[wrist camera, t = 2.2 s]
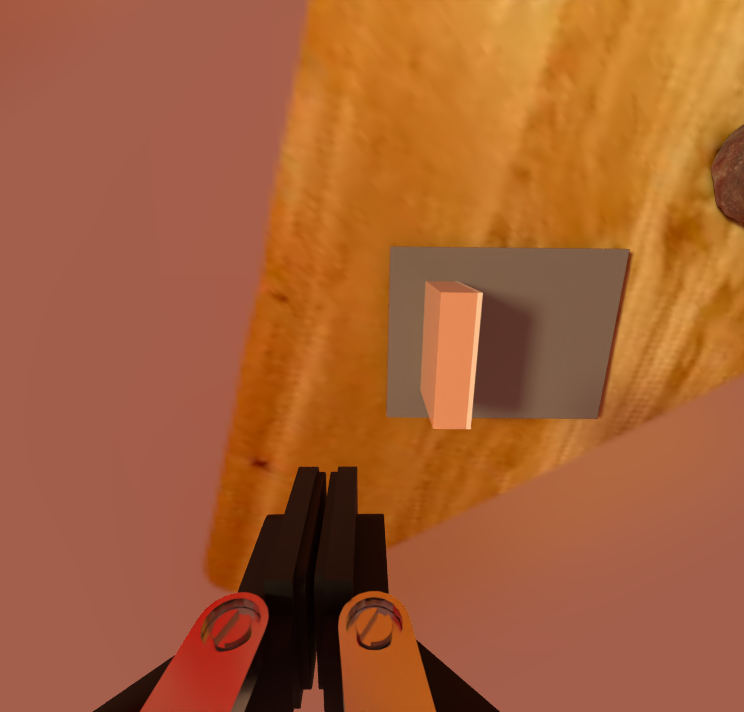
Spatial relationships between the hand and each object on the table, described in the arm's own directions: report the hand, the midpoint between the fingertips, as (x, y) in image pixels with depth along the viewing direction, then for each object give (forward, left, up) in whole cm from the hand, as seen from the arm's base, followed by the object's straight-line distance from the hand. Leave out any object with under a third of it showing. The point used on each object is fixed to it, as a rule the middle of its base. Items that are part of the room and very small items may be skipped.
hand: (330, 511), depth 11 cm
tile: (-7, 0, -21) cm, 22 cm away
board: (-12, 0, -22) cm, 25 cm away
